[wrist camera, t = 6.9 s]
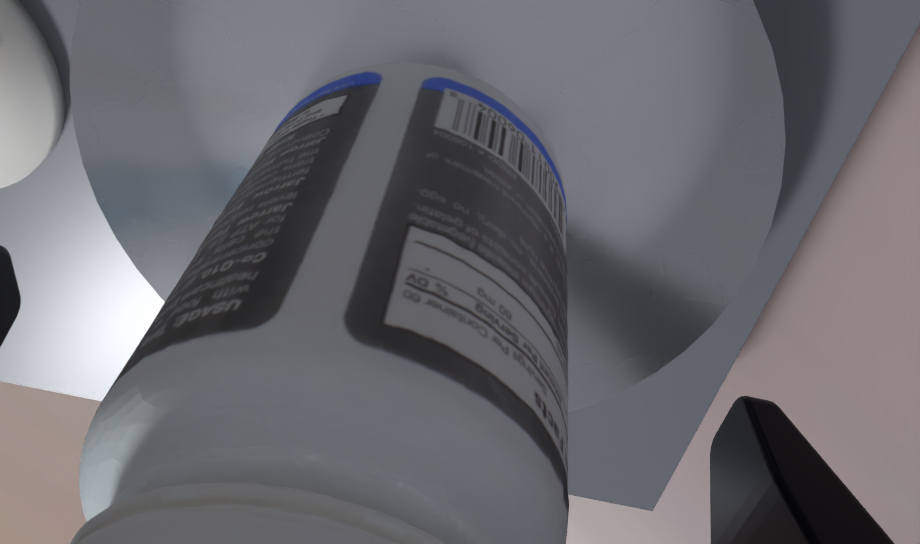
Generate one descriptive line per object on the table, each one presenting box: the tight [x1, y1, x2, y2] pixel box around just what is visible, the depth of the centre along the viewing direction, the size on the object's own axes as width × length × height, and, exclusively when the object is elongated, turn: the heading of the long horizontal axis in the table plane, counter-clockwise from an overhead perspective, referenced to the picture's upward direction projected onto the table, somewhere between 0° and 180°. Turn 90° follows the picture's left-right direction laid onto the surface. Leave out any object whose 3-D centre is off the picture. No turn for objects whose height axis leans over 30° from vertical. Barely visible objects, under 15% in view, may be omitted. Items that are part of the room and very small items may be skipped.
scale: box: [0, 0, 920, 511], centre depth 14 cm, size 18×16×4 cm
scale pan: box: [69, 0, 786, 412], centre depth 13 cm, size 11×11×1 cm
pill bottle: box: [70, 62, 569, 544], centre depth 9 cm, size 5×5×8 cm
